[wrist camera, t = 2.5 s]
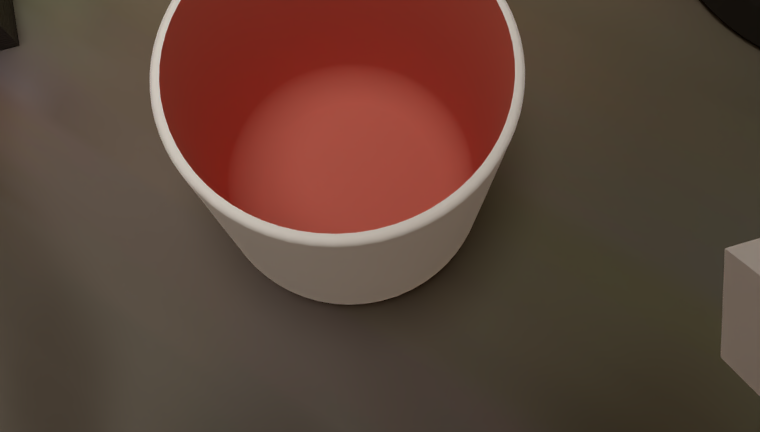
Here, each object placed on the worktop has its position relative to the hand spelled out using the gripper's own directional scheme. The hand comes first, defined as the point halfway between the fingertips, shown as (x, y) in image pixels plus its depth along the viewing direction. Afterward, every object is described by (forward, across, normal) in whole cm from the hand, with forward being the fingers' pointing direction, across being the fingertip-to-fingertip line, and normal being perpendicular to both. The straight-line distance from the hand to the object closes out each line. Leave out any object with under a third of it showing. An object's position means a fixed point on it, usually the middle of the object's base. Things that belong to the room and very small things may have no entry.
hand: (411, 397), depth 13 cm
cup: (+15, +1, -3) cm, 16 cm away
